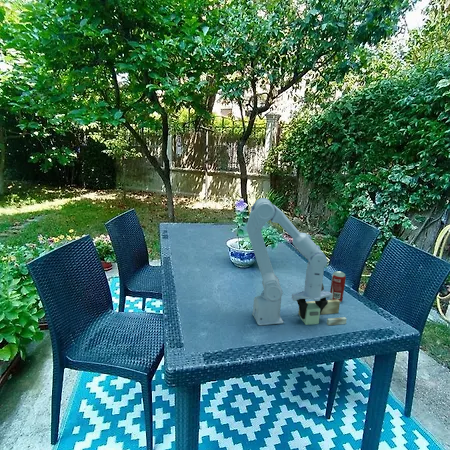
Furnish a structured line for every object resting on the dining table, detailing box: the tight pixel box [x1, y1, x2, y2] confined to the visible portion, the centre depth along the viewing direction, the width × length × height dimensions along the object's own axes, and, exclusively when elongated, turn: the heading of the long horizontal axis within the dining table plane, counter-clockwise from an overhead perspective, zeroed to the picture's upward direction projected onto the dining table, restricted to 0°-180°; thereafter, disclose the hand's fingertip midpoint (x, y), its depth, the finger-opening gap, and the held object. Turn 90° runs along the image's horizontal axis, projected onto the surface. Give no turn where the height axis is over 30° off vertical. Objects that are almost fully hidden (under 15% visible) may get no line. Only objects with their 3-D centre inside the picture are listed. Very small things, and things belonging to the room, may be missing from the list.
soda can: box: [329, 270, 347, 303], centre depth 122 cm, size 5×5×12 cm
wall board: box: [297, 299, 347, 326], centre depth 108 cm, size 16×9×5 cm, turn 101°
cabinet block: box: [299, 303, 321, 326], centre depth 105 cm, size 5×5×6 cm
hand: (309, 316), depth 106 cm, fingers closed on cabinet block, 5 cm apart
